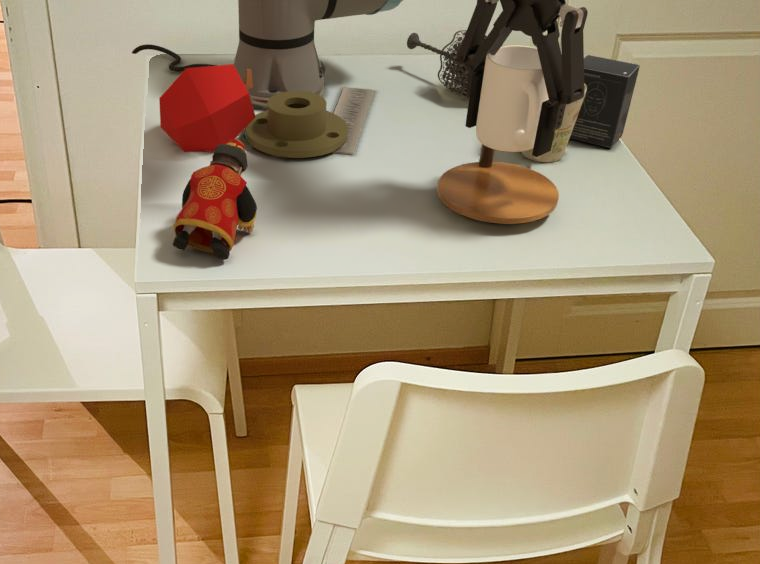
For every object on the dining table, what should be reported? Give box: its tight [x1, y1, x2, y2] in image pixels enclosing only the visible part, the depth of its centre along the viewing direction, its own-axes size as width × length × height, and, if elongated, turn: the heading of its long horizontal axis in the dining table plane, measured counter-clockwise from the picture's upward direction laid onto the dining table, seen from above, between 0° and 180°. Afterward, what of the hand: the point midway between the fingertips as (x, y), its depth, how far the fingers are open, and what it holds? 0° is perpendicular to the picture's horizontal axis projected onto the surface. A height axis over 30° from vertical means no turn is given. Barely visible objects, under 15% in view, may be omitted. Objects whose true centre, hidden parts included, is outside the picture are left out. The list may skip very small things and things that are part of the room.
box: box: [569, 54, 641, 149], centre depth 136 cm, size 8×6×11 cm
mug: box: [520, 83, 587, 163], centre depth 131 cm, size 8×13×10 cm, turn 163°
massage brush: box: [406, 29, 504, 99], centre depth 149 cm, size 9×22×9 cm
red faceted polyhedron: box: [158, 63, 256, 153], centre depth 134 cm, size 12×12×15 cm
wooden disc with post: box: [436, 143, 560, 225], centre depth 120 cm, size 16×16×10 cm
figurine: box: [172, 138, 258, 260], centre depth 115 cm, size 10×10×15 cm
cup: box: [475, 45, 549, 153], centre depth 114 cm, size 8×12×10 cm
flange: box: [244, 91, 348, 159], centre depth 136 cm, size 5×15×15 cm
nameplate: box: [329, 87, 375, 156], centre depth 143 cm, size 23×1×5 cm
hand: (507, 138), depth 118 cm, fingers closed on cup, 10 cm apart
